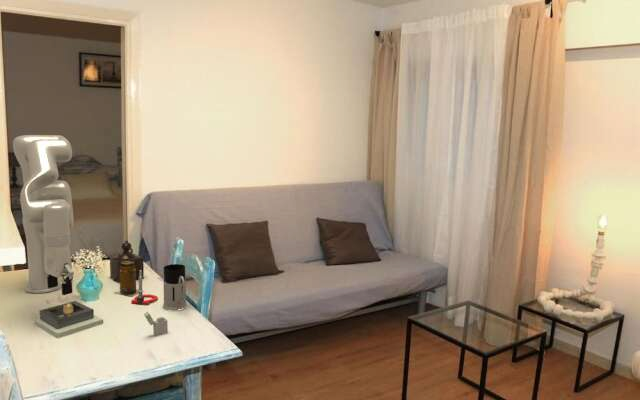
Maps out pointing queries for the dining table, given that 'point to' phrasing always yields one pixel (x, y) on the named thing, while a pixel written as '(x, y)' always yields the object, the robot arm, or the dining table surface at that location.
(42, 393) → the dining table surface
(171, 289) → the glass holder
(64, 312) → the post
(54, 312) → the square metal frame
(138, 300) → the tow hook
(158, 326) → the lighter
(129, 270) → the condiment
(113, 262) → the manual coffee grinder
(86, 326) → the plate
